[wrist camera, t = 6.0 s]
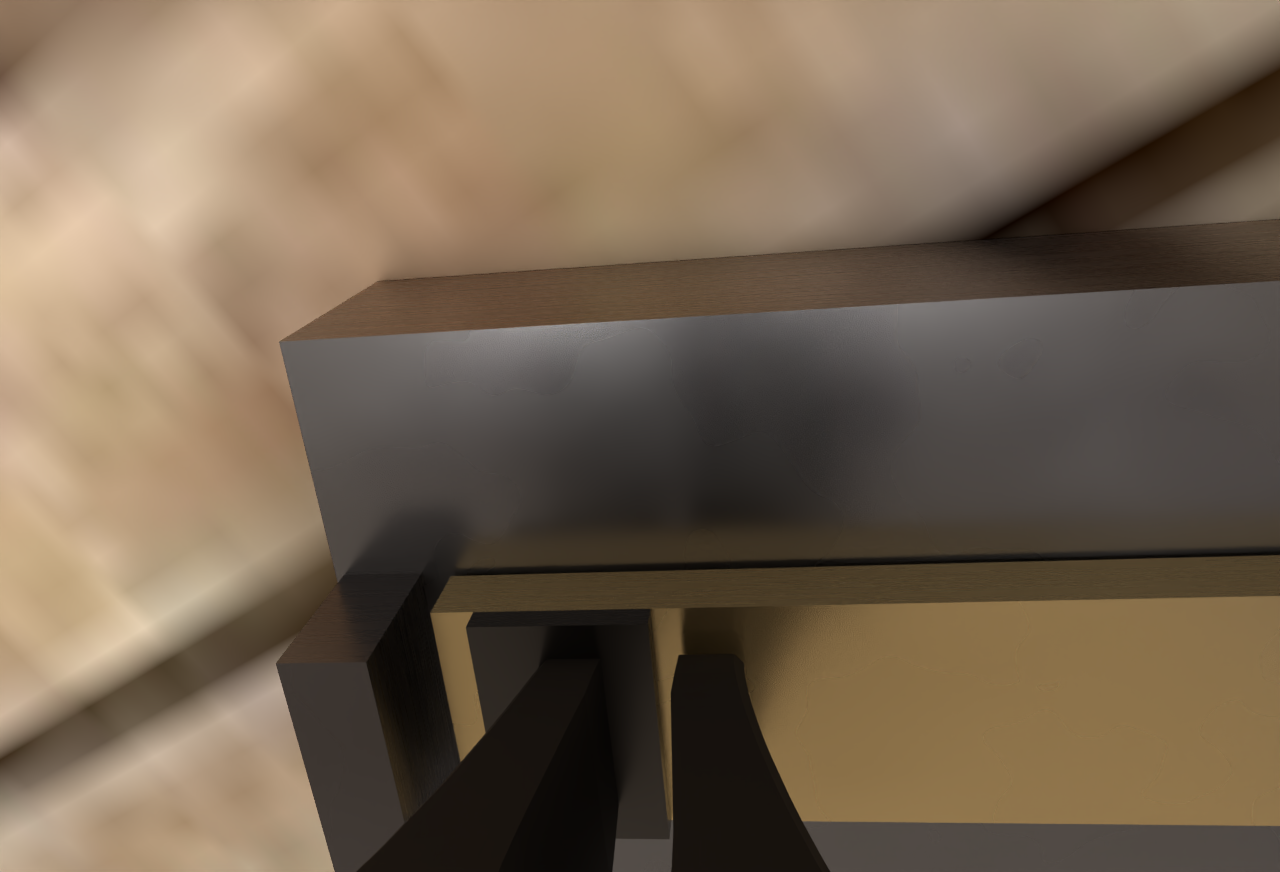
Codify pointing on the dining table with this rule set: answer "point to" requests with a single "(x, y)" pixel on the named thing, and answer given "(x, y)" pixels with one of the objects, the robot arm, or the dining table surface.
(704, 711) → the robot arm
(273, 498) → the dining table surface
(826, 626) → the brass strap
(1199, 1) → the dining table surface
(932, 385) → the grey flat block
